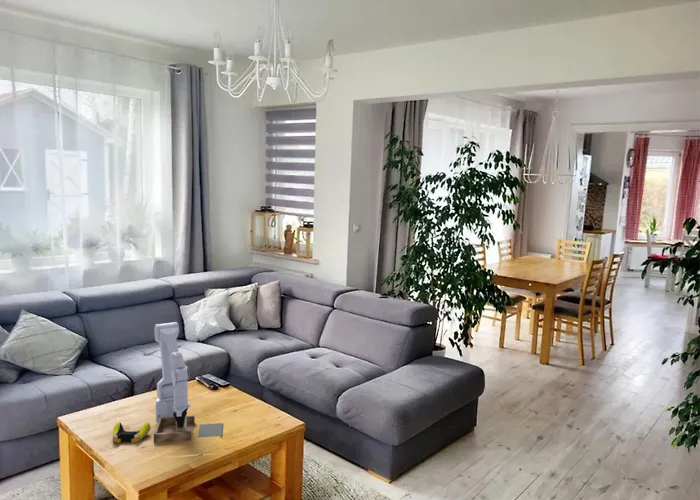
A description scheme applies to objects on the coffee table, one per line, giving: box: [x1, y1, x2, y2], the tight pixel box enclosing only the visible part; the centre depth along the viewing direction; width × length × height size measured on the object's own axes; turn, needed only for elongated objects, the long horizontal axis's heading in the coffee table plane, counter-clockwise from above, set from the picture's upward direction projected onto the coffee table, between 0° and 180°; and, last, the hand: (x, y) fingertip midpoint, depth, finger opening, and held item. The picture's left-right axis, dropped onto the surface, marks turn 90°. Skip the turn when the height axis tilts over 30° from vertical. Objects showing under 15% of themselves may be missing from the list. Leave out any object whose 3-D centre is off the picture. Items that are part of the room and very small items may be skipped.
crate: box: [153, 414, 196, 443], centre depth 229 cm, size 15×16×4 cm
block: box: [176, 417, 187, 431], centre depth 229 cm, size 4×4×6 cm
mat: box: [197, 422, 224, 438], centre depth 232 cm, size 10×12×1 cm
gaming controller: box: [112, 421, 151, 444], centre depth 223 cm, size 15×6×10 cm
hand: (181, 425), depth 229 cm, fingers closed on block, 4 cm apart
